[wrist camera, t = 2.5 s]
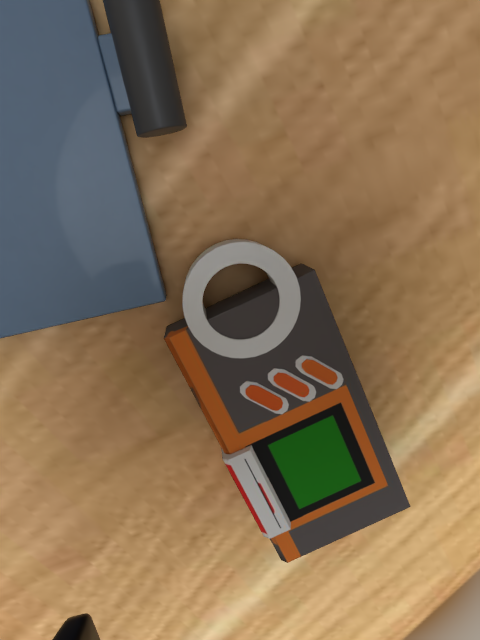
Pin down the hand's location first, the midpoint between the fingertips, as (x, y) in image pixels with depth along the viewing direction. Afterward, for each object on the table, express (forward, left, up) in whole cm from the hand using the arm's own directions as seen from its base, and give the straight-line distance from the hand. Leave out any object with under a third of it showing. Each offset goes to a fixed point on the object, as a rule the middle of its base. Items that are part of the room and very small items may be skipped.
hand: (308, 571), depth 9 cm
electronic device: (-2, +2, -12) cm, 12 cm away
